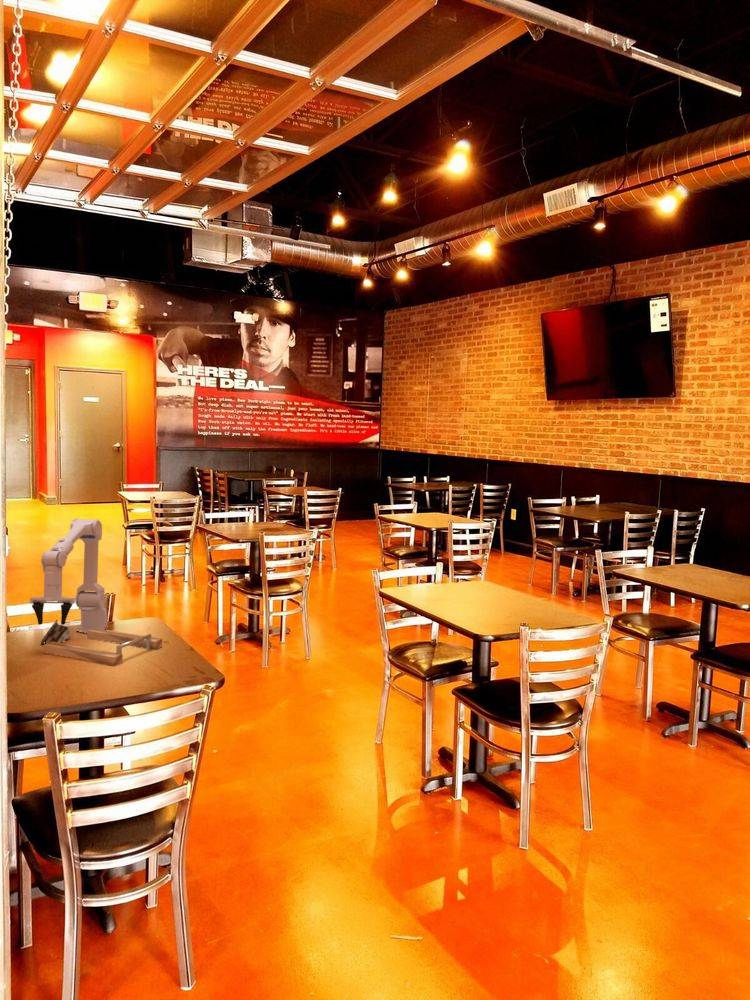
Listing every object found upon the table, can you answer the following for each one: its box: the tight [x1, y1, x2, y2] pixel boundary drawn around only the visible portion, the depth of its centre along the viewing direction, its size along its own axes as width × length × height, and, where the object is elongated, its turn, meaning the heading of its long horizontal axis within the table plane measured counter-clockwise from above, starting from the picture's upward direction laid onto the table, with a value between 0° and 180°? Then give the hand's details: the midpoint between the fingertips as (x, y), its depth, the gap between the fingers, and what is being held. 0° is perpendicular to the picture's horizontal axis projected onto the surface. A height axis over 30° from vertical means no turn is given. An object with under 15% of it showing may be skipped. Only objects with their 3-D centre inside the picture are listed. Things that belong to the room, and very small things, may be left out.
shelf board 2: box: [86, 628, 163, 651], centre depth 273 cm, size 4×32×3 cm, turn 66°
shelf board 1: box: [43, 642, 124, 667], centre depth 255 cm, size 4×32×3 cm, turn 66°
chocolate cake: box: [40, 619, 72, 645], centre depth 275 cm, size 10×7×12 cm
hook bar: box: [115, 633, 152, 655], centre depth 258 cm, size 16×1×6 cm, turn 156°
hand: (51, 624), depth 258 cm, fingers open, 7 cm apart
